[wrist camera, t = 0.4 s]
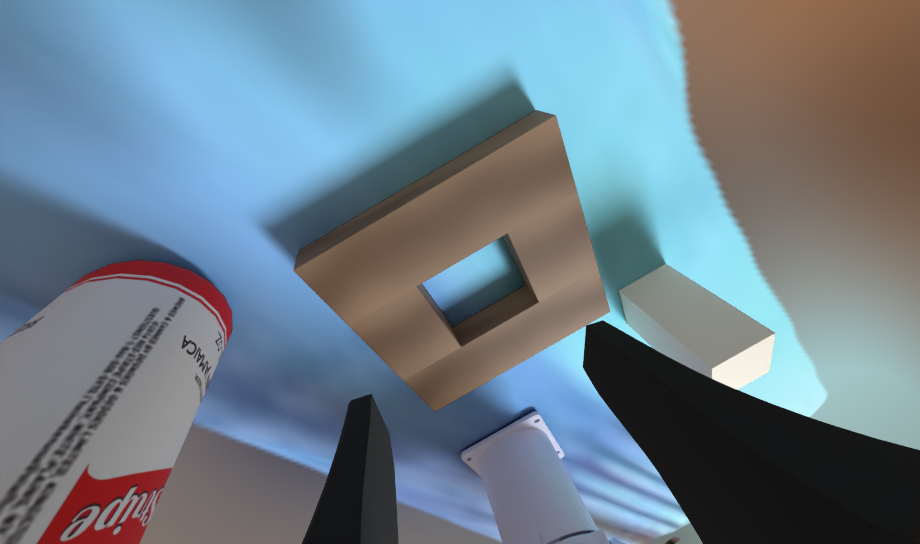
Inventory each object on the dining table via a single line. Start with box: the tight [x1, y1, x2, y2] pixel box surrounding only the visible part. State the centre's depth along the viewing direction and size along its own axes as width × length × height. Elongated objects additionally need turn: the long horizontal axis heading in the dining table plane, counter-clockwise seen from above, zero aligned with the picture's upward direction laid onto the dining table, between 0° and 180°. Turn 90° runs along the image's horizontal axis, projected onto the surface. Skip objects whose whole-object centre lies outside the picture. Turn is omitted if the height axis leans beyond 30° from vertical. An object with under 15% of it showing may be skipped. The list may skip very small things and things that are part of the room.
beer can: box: [0, 260, 232, 544], centre depth 11 cm, size 6×6×16 cm
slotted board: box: [293, 110, 610, 412], centre depth 21 cm, size 14×14×2 cm
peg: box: [619, 264, 775, 390], centre depth 24 cm, size 4×4×8 cm
